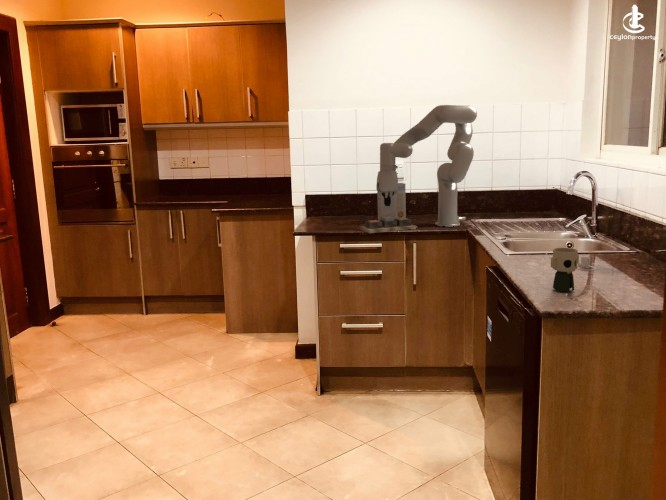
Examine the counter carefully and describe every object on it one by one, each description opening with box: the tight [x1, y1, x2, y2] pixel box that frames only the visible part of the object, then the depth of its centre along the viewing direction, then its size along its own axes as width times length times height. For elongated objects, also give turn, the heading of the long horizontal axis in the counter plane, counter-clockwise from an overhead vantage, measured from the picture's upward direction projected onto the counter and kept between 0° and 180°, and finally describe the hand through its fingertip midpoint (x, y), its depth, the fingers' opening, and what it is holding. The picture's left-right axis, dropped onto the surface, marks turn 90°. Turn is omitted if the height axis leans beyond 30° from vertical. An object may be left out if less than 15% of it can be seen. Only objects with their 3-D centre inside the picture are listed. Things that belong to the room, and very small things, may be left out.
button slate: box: [382, 217, 394, 221], centre depth 312 cm, size 4×4×3 cm
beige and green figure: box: [550, 247, 580, 293], centre depth 193 cm, size 11×7×13 cm, turn 114°
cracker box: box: [376, 182, 407, 221], centre depth 330 cm, size 14×6×21 cm, turn 105°
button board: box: [359, 217, 418, 234], centre depth 312 cm, size 26×12×4 cm, turn 110°
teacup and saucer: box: [576, 256, 598, 271], centre depth 223 cm, size 9×8×4 cm
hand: (387, 205), depth 310 cm, fingers closed
